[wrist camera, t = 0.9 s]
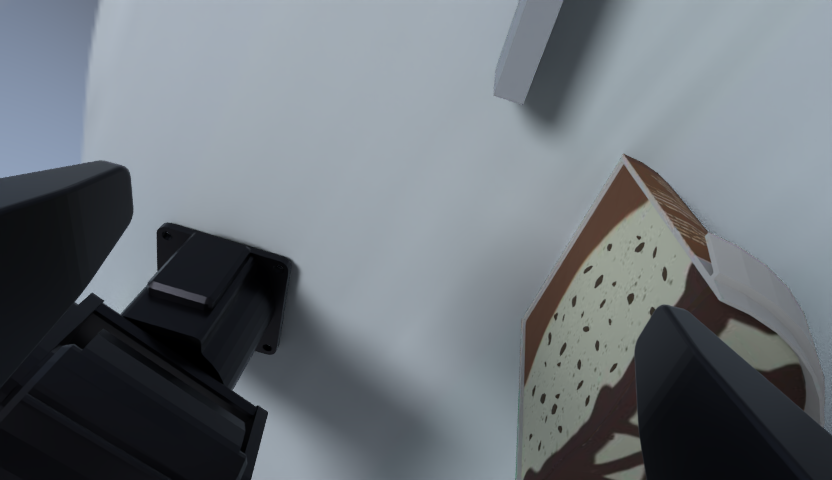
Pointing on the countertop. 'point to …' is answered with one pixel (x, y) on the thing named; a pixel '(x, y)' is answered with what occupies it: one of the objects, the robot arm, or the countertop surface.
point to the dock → (524, 48)
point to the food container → (641, 327)
